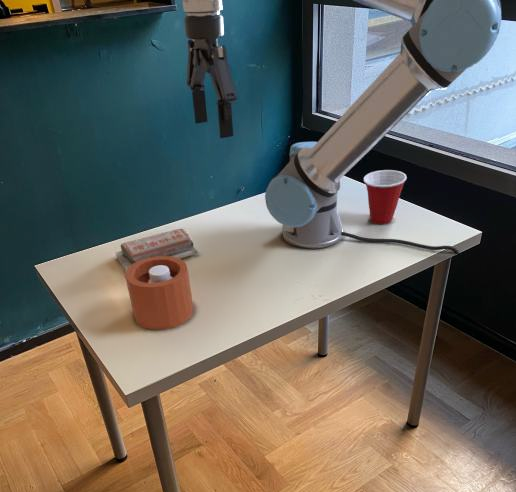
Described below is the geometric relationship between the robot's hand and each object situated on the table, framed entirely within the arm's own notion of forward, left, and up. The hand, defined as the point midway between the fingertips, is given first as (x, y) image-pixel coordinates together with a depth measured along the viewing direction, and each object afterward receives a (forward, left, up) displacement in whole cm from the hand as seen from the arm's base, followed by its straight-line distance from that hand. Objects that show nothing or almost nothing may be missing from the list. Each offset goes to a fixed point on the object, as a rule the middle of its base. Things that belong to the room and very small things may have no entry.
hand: (213, 129), depth 111 cm
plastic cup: (-40, -18, -29) cm, 52 cm away
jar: (+8, +29, -29) cm, 42 cm away
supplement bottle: (+7, +29, -28) cm, 41 cm away
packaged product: (+16, +5, -29) cm, 33 cm away
